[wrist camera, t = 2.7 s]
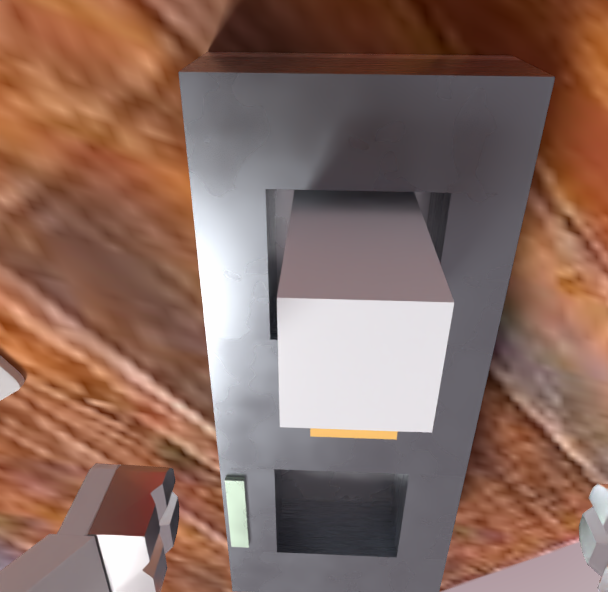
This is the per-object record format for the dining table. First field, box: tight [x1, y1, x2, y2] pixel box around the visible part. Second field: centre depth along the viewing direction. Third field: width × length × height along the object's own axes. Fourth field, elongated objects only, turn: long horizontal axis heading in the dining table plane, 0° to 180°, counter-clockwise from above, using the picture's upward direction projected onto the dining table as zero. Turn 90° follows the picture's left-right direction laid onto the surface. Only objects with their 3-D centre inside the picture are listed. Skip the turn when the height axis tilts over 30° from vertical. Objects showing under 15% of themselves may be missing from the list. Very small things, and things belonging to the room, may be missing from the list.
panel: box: [179, 52, 555, 592], centre depth 23 cm, size 24×10×4 cm, turn 0°
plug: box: [277, 190, 454, 440], centre depth 17 cm, size 5×4×8 cm
